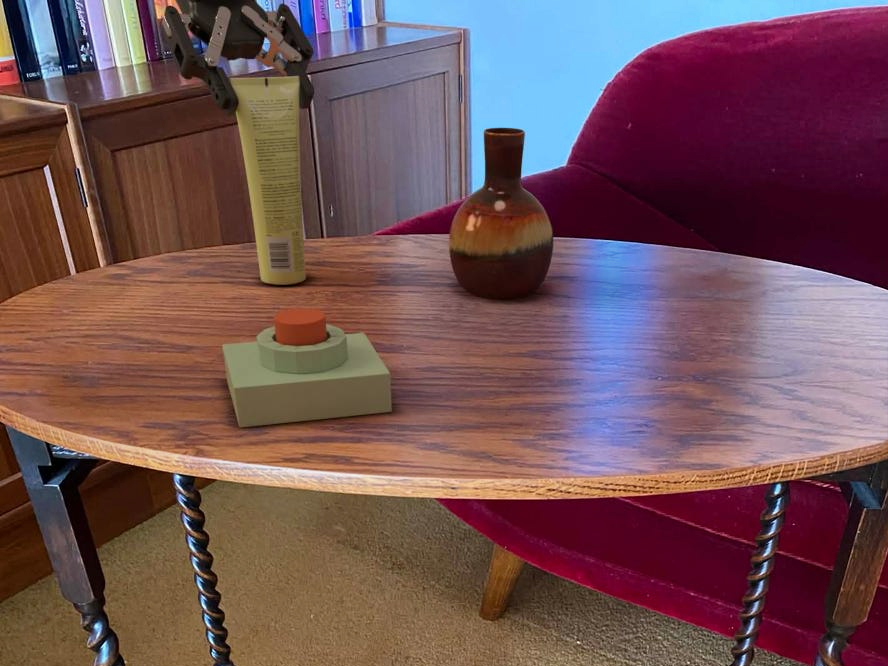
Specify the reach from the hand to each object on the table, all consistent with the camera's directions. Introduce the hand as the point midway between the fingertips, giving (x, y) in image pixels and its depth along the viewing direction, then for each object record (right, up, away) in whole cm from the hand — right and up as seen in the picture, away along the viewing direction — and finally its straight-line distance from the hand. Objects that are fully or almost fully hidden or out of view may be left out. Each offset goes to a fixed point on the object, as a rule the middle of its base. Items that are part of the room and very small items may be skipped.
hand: (271, 106), depth 96 cm
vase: (+23, -15, +9) cm, 29 cm away
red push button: (+7, -29, -19) cm, 36 cm away
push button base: (+6, -33, -16) cm, 38 cm away
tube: (-1, -14, +11) cm, 17 cm away
